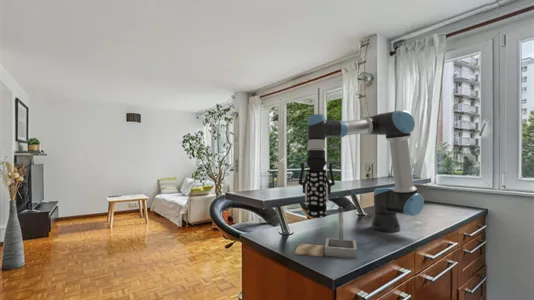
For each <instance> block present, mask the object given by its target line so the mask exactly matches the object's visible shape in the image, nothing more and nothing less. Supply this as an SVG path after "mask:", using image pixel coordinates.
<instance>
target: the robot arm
mask: <svg viewBox="0 0 534 300" xmlns="http://www.w3.org/2000/svg"><path fill="white" fill-rule="evenodd" d="M415 124H416V123H415V118H414V116H413V115H412V114H411V113H410V112H409V111H407V110H403V109H402V110H394V111H391V112H390V111H389V112H384V113H383V112H382V113H378V114H375V115H372V116H366V117H362V118H361V119H354V120H351V119H350V120H339V119H338V120H331V119H329V120H328V119H326V116H325V114H322V113H319V114H318V113H317V114H316V113H315V114H310V115H309V116H308V117H307V129H306V130H307V131H306V132H307V149H308V150H307V161H305V162H304V161H303V162H300V166H301V168H300V172H299V179H298V185H300V186H302V193H303V194H304V195H305V196H304V201H305V202H307V175H306V176H305V178H304V174H305V168H306V167H307V166H308V170H325V169H324V168H325V167H327V168H328V172H329V177H330V180H331V182H330V180H329V178H328V176H327V174H326V203H328V202H329V195H331V194H332V193H331V192H332V189H331V188H332V186H335V185H336V183H335V178H334V177H335V176H334V172H333V162H327V160H326V151H325V149H326V139H328V138H344V137H346V136H352V135H360V134H362V135H363V136H364V135H365V136H368V135H372V136H373V135H375V136H376V135H377V136H385V139H386V140H387V141H388V142H389V148H390V157H391V165H392V171H393V173H392V174H393V179H394V180H393V181H394V182H393V183H394V187H378V188H375V189H374V191H373V209H374V211H373V212H374V213H373V216H372V221H371V222H370V224H371V225H370V227H371V229H372V230H374V231H377V232H385V233H396V232H397V233H398V232H400V231H401V225H400V221H399V219H398V215H397V214H399V215H403V216H406V217H407V216H411V217H416V216H418V215H420V214H421V212H422V211H423V209H424V206H425V199H424V196H422V194H420V193H418V188H417V187H416V186H415V185H414V180H413V173H412V165H411V163H412V162H411V157H410V147H409V139H410V137H411V133H412V132H414V129H415V126H416V125H415ZM303 179H304V180H303Z"/></svg>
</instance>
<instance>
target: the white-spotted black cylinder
mask: <svg viewBox="0 0 534 300" xmlns="http://www.w3.org/2000/svg"><path fill="white" fill-rule="evenodd" d="M326 175H327V169H324V170H309V169H306V176H307V183H306V186H307V201H306V203H307V204H306V206H307V210H306V212H307V213H306V215H307V217H310V218H319V219H320V218H326V217H327V202H326V186H327V183H326Z"/></svg>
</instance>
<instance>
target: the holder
mask: <svg viewBox="0 0 534 300" xmlns="http://www.w3.org/2000/svg"><path fill="white" fill-rule="evenodd" d="M344 211H345V210H344V208H343V206H338V208H337V212H338V238H329V237H327V238H326V240H325V250H324V256H325V257H337V258H350V259H358V248H357V247H358V246H357V241H356V239H346V238H345V239H344Z"/></svg>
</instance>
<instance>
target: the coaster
mask: <svg viewBox="0 0 534 300" xmlns="http://www.w3.org/2000/svg"><path fill="white" fill-rule="evenodd" d="M294 255H298V256H299V255H301V256H309V257H310V256H311V257H321V258H323V257H324V256H325V245H324V244H323V245H322V244H310V243H298V245H297V247H296V248H295V251H294Z"/></svg>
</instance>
